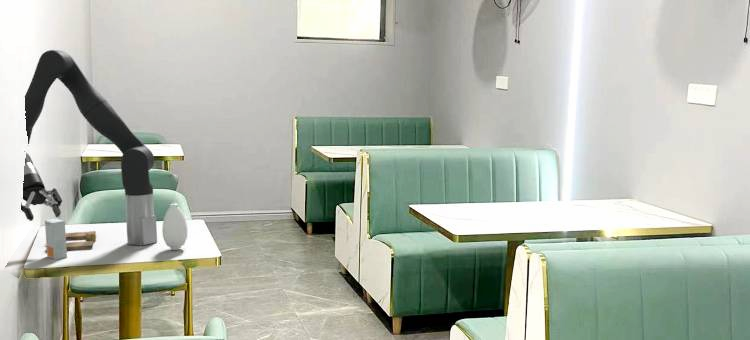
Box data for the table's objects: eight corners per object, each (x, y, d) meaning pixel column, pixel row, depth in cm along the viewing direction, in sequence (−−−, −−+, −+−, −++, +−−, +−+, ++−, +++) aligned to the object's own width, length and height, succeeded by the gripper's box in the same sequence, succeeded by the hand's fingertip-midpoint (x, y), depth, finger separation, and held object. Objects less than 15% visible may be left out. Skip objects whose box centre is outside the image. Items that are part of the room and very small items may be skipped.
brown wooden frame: (97, 234, 271) (96, 225, 270) (93, 248, 248) (93, 239, 248) (54, 237, 266) (53, 228, 266) (46, 252, 244) (46, 242, 243)
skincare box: (46, 256, 238) (44, 220, 236) (60, 254, 241) (57, 218, 239) (54, 259, 233) (51, 222, 232) (67, 257, 236) (65, 220, 235)
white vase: (174, 253, 241) (172, 198, 239) (158, 250, 245) (156, 196, 243) (192, 248, 248) (190, 195, 245) (176, 245, 252) (174, 193, 249)
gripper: (8, 174, 239) (25, 213, 233) (52, 170, 249) (70, 207, 243) (3, 188, 243) (20, 227, 237) (46, 184, 254) (63, 221, 247)
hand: (45, 217), depth 240 cm, fingers open, 8 cm apart
